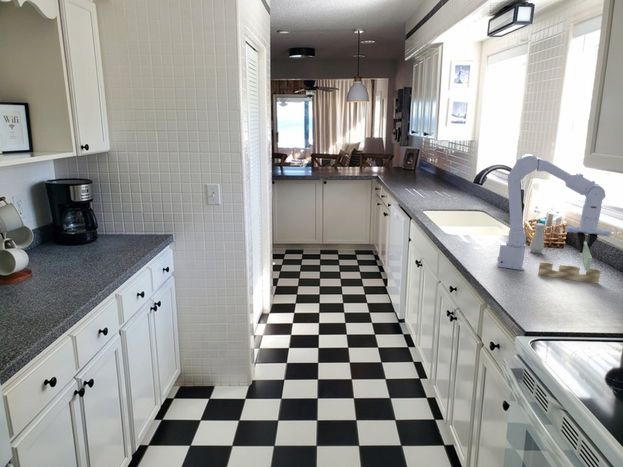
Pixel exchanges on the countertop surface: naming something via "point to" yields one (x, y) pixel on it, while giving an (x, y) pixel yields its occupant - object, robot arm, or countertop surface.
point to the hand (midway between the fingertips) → (583, 252)
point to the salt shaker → (538, 239)
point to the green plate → (586, 257)
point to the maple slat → (569, 272)
